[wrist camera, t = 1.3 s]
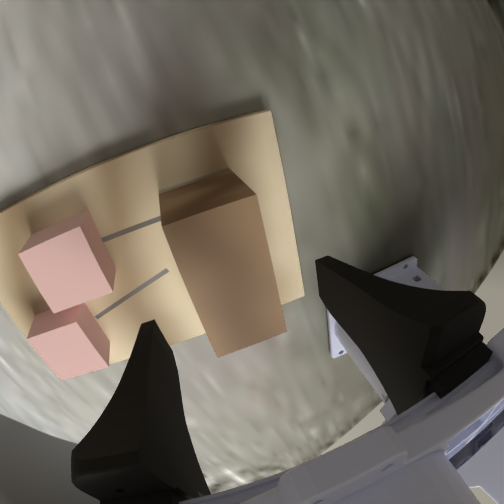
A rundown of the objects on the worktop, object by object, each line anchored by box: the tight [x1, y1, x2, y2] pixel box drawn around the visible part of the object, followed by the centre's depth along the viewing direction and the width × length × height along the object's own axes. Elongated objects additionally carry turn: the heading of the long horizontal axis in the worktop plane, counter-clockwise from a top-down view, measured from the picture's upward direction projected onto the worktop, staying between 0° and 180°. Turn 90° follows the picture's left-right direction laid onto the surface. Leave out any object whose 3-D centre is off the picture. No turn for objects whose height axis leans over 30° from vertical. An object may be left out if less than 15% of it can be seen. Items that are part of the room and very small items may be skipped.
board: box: [0, 110, 304, 364], centre depth 18 cm, size 20×13×1 cm, turn 102°
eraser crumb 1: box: [18, 210, 116, 313], centre depth 15 cm, size 4×4×2 cm
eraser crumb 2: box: [27, 302, 110, 380], centre depth 17 cm, size 4×4×2 cm
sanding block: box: [158, 168, 287, 358], centre depth 17 cm, size 4×8×5 cm, turn 12°
